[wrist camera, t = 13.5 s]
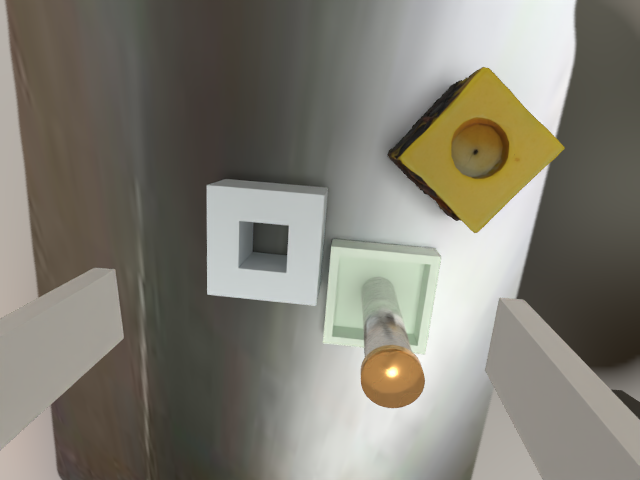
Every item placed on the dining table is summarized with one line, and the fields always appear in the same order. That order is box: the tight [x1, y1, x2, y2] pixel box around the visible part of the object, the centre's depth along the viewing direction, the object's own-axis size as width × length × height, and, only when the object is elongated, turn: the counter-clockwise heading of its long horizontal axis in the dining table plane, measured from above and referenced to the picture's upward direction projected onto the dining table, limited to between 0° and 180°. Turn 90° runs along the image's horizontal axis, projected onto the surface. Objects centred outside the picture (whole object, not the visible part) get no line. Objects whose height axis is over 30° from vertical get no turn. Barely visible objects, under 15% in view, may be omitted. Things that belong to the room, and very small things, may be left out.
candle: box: [388, 67, 564, 233], centre depth 36 cm, size 10×10×10 cm
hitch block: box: [207, 179, 328, 306], centre depth 42 cm, size 12×12×6 cm
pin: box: [361, 277, 425, 408], centre depth 37 cm, size 5×5×17 cm
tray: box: [323, 239, 441, 354], centre depth 44 cm, size 12×12×3 cm
